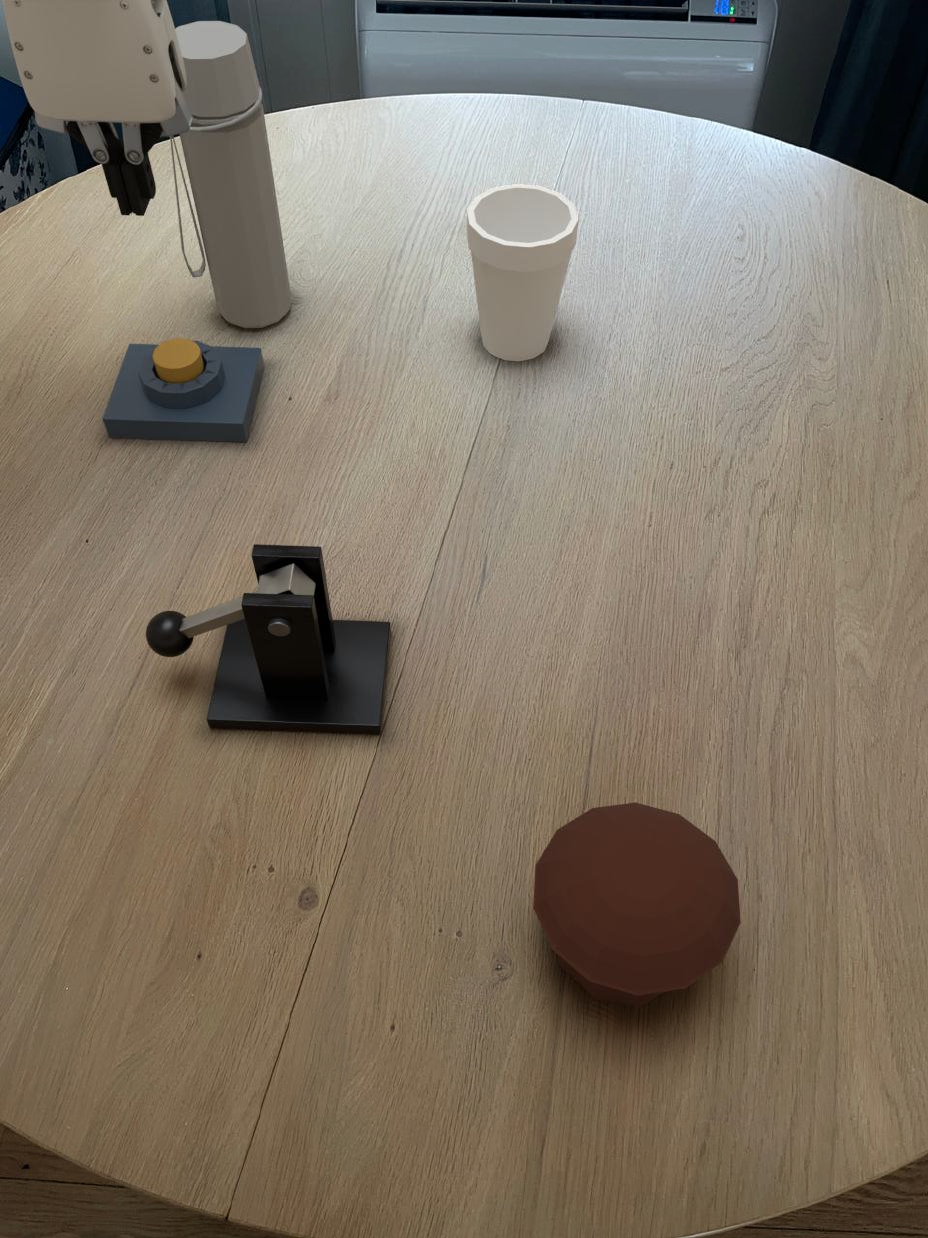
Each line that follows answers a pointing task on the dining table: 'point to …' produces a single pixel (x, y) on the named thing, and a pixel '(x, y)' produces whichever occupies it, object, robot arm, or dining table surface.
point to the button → (178, 361)
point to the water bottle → (231, 176)
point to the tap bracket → (299, 659)
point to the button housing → (186, 397)
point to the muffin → (635, 902)
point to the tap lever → (219, 613)
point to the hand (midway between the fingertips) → (137, 204)
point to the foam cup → (519, 265)
